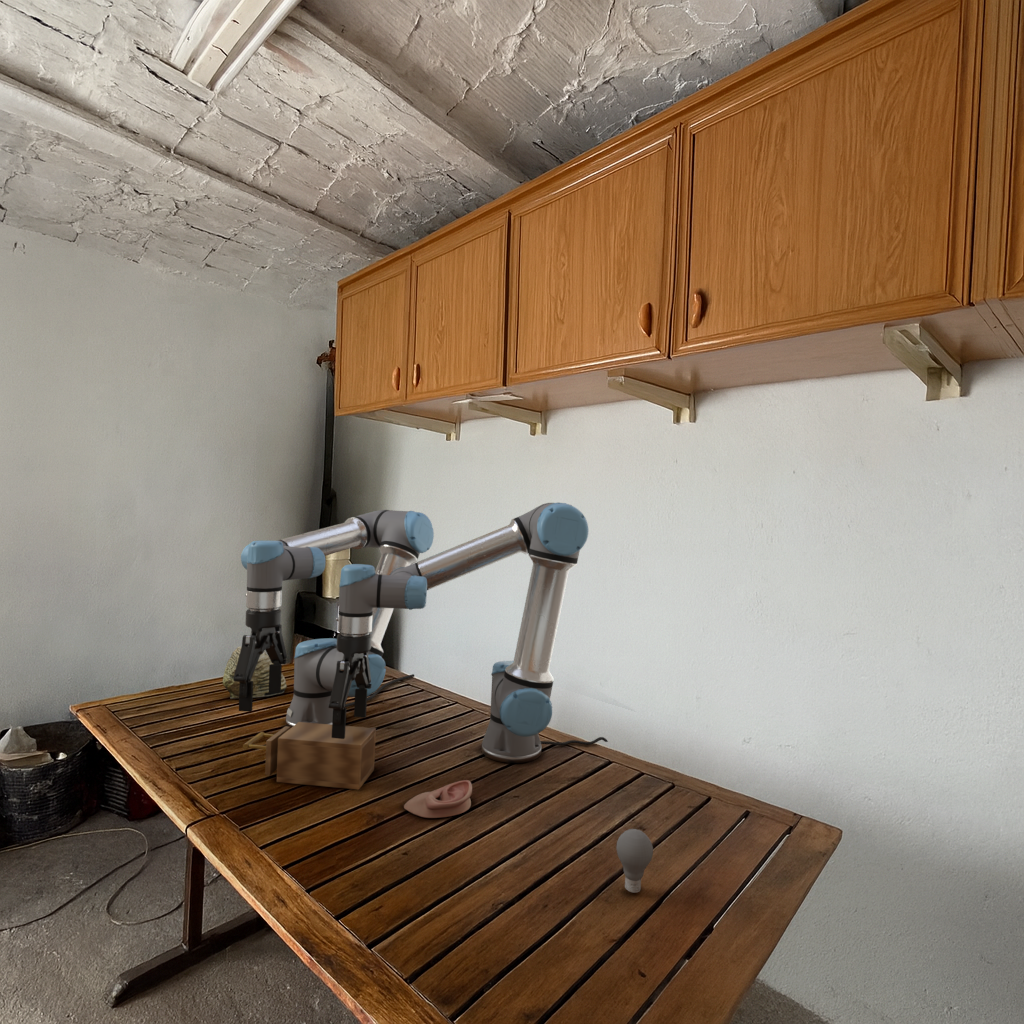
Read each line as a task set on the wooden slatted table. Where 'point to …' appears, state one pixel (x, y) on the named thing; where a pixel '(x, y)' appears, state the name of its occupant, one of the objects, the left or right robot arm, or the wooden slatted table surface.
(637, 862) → the light bulb
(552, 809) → the wooden slatted table surface
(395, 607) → the right robot arm
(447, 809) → the anatomical model
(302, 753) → the cabinet
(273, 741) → the drawer
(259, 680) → the fossil
